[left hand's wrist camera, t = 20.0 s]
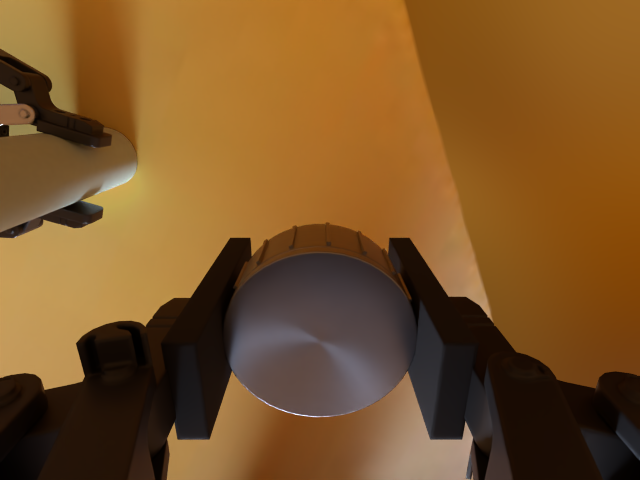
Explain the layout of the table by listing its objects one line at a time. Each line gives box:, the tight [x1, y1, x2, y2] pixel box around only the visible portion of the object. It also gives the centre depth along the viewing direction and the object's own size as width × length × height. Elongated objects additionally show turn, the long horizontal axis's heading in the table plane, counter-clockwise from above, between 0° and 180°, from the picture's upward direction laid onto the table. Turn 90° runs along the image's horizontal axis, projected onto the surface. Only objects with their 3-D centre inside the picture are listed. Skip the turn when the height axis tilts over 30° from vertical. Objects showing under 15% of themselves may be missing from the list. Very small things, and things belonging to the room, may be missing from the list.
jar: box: [0, 128, 137, 232], centre depth 23 cm, size 5×5×17 cm
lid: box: [223, 223, 417, 417], centre depth 11 cm, size 5×5×2 cm
